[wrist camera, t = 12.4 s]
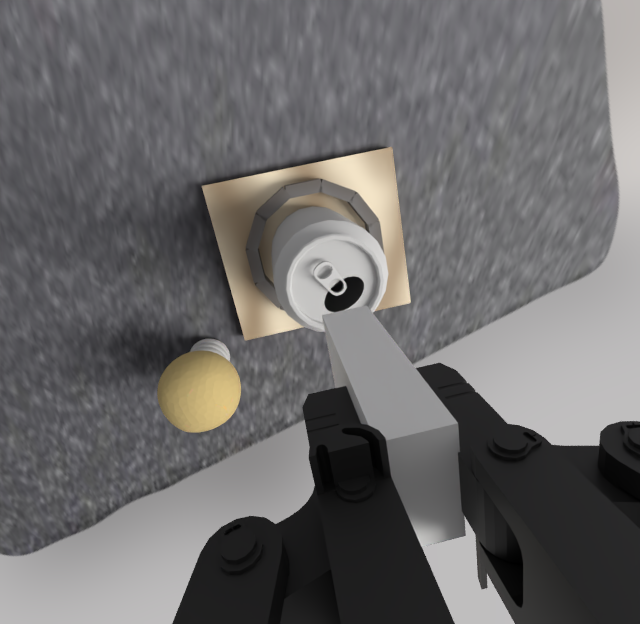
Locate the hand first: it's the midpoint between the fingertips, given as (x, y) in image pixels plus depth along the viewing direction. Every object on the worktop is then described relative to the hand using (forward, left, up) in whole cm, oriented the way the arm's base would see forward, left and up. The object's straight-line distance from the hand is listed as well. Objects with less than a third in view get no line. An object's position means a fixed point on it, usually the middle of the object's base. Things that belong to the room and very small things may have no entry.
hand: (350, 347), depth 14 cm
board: (+1, -1, -25) cm, 25 cm away
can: (+1, -1, -24) cm, 24 cm away
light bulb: (-10, -10, -25) cm, 29 cm away
